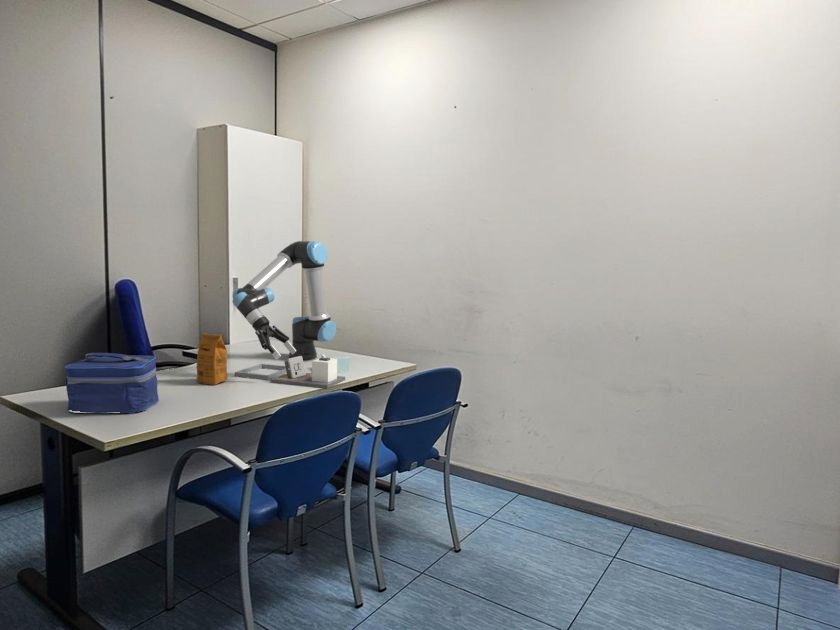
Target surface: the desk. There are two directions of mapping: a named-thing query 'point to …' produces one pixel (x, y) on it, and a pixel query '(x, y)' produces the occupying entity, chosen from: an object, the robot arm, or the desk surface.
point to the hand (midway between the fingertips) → (286, 355)
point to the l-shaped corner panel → (341, 364)
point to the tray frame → (260, 376)
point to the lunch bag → (112, 383)
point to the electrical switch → (295, 367)
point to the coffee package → (211, 360)
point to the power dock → (307, 381)
